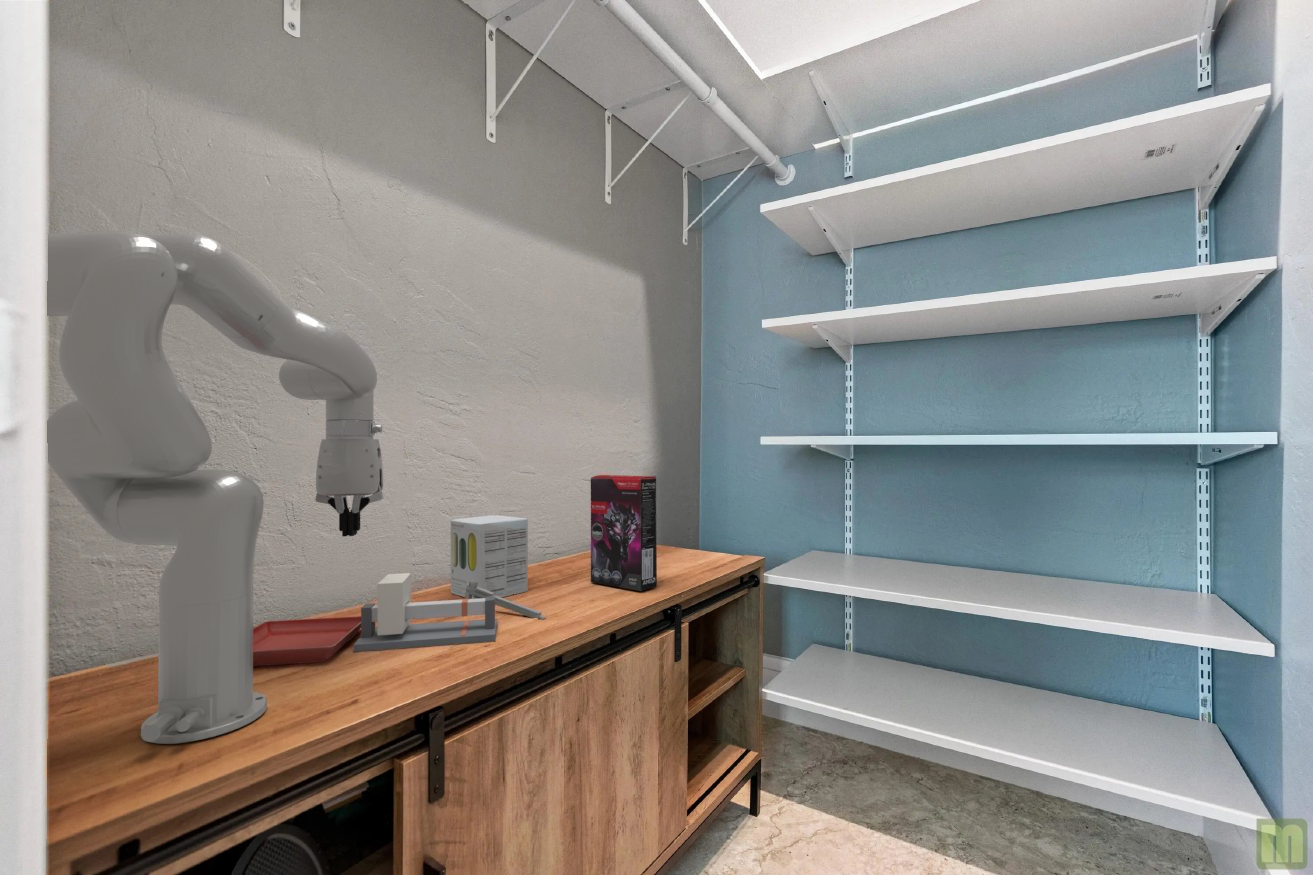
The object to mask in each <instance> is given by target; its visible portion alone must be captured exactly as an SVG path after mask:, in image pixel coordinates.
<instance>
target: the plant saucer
mask: <svg viewBox="0 0 1313 875" xmlns="http://www.w3.org/2000/svg"><path fill="white" fill-rule="evenodd" d="M359 631H361V615H359V616H340V617H339V616H337V617H319V618H302V619H301V618H300V619H284V620H283V619H281V620H268V621H264V622H261V623H260V624H257V626H255V627H254V626H253V667H256V666H257V667H259V666H273V665H274V666H276V665H287V664H289V665H291V664H307V663H322V662H323V663H324V662H325V661H328V660H329V659H330V658H331V657H332V656H334V654H336V653H337V652H338V651H339V650H340V649H341V648H342V647H343V646H345V645H346V644H347V643H348V642H349V641H350V640H352V638H354V637H355V636H356V635H357V633H358V632H359Z"/></svg>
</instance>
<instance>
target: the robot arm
mask: <svg viewBox="0 0 1313 875" xmlns="http://www.w3.org/2000/svg"><path fill="white" fill-rule="evenodd" d="M47 234H48V281H47V316H46V317H67V319H66V322H65V324H64V327H63V331H62V334H61V339H60V344H59V348H58V361H59V368H60V369H61V373H62V376H63V377H64V380H65V381H66V383H67V385H68V387H69V388H70V389H71V391H72V392H73V394H74V396H75V398H76V399H77V400H72V401H71V402H67V403H65V404H63V405H62V406H60V407H59V408H57V409H56V410H55V411H53V412H52V413H51V415H50V416H49V417H48V418H47V421H46V422H47V443H48V461H47V463H48V464H49V465H50V467H51V469H52V471H53V472H54V473H55V474H56V475H57V476H58V478H59V480H61V481H62V483H63V485H65V487H66V488H67V489H68V490H69V491H70V492H71V494H72V495H73V496H74V497H75V498H76V500H77V501H78V502H79V503H80V504H81V505H82V507H83V508H84V509H85V510H86V511H87V513H88V514H89V515H90V516H91V517H92V518H93V519H94V521H95V522H96V523H97V524H98V525H99V526H100V527H101V529H103V530H104V532H106V533H107V534H108V535H110V536H111V537H113V538H114V539H116V540H119V541H121V542H124V543H127V544H132V545H147V546H149V545H150V546H176V550H175V551H174V554H173V555H172V556H171V558H170V560H169V562H168V563H167V564H166V566H165V568H164V570H163V573H162V575H161V578H160V582H159V588H158V675H157V676H158V678H157V679H158V680H157V682H158V683H157V684H158V689H157V690H158V692H157V695H158V698H157V699H158V700H157V707H158V710H157V711H156V712H155V713H153V714H152V715H150V716H149V717H147V718H146V719H145V721H144V722H142V724H141V726H140V737H141V740H143V741H145V742H148V743H152V744H158V745H159V744H161V745H162V744H163V745H171V744H182V743H190V742H197V741H200V740H206V739H211V738H213V737H216V736H217V737H218V736H220V735H225V734H227V733H230V732H232V731H235V730H237V729H241V728H242V727H244V726H246V725H248V724H250V723H252V722H254V721H255V720H256V719H258V718H260V717H261V716H262V715H263V714H264V713H265V712H266V710H267V708H268V698H267V696H266V695H265V694H263V693H260V692H258V691H254V666H253V628H254V605H255V604H254V598H255V597H254V596H255V595H254V594H255V593H254V577H255V576H254V574H255V572H254V570H255V569H254V568H255V557H256V555H255V554H256V553H255V552H256V546H257V541H258V540H257V539H258V536H259V535H258V534H259V531H260V528H261V524H262V523H261V522H262V518H263V514H264V507H265V506H264V496H263V493H262V490H261V489H260V486H259V485H258V484H257V483H256V482H255V481H254V479H252V478H251V477H249V476H247V475H245V474H242V473H241V472H236V471H232V470H227V469H226V470H225V469H211V468H210V469H205V468H203V469H202V467H203V466H204V465H205V464H206V463H207V462H208V461H209V459H210V457H211V454H212V451H213V444H212V443H213V442H212V439H211V435H210V433H209V431H208V428H207V427H206V425H205V424H206V423H205V422H204V421H203V419H202V417H201V416H200V414H199V412H198V411H197V409H196V408H195V405H194V403H192V401H191V399H190V398H189V396H188V394H187V393H186V391H185V389H184V388H183V386H182V384H181V383H180V381H179V380H178V378H177V377H176V375H175V373H174V371H173V369H172V367H171V365H170V364H169V362H168V360H167V357H166V355H165V352H164V348H163V342H162V341H163V339H162V337H163V329H164V325H165V320H166V318H167V315H168V311H169V309H170V307H171V305H181V306H184V307H186V308H188V309H190V310H191V311H192V312H193V313H195V314H196V315H198V317H200V318H202V320H204V321H205V322H206V323H208V324H209V325H210V326H212V327H213V328H215V330H217V331H218V332H219V333H221V334H223V335H224V336H225V337H226V338H227V339H228V340H230V341H231V342H232V343H234V344H235V345H236V346H238V347H239V348H241V349H244V350H246V351H249V352H253V353H254V354H255V353H256V354H260V355H263V356H267V357H271V358H276V359H277V358H278V359H283V360H285V361H284V362H283V363H282V364H281V366H280V368H279V370H278V371H279V372H278V380H279V383H280V385H281V387H282V389H283V390H284V391H285V392H286V393H288V394H289V395H290V396H292V397H293V398H297V399H300V400H303V401H304V400H307V401H316V400H317V401H320V400H321V401H323V400H324V401H325V438H324V439H323V438H322V439H321V441H320V445H319V450H318V456H317V463H316V471H315V491H316V495H315V499H314V500H315V502H316V503H321V504H326V505H329V506H331V507H332V508H333V510H335V512H336V513H337V514H338V517H339V518H338V521H339V522H338V529H339V532H341V533H342V534H341V536H342V537H354V536H356V535H357V534H358V531H361V512H362V511H363V509H365V508H366V507H367V506H368V505H369V504H371V503H375V502H379V501H382V500H383V499H384V495H383V488H384V471H383V470H384V468H383V459H382V457H383V456H382V451H381V449H382V448H381V444H380V441H379V439H377V438H374V437H375V434H378V433H382V432H383V425H382V424H377V423H376V422H375V421H374V391H375V389H376V386H377V382H378V374H377V370H376V367H375V365H374V362H373V361H372V358H370V356H369V355H368V354H367V352H366V351H365V349H363V348H362V347H361V346H360V345H359V344H358V343H357V341H355V340H354V339H353V337H351V336H350V335H348V334H347V333H346V332H344V331H343V330H341V329H339V328H338V327H336V326H334V325H332V324H329V323H327V322H326V321H322V320H321V319H319V318H317V317H314V316H313V315H310V314H308V313H305V312H304V311H301V310H299V309H296V308H293V307H291V306H289V305H287V304H285V303H284V302H283V301H281V300H280V299H279V298H278V297H277V296H276V294H274V292H273V291H272V290H270V289H269V288H268V287H267V286H266V285H265V284H264V283H263V282H261V281H260V279H258V278H257V277H256V276H255V275H254V274H253V273H252V272H251V271H250V269H248V267H246V266H245V265H244V264H243V263H242V262H241V261H240V260H238V259H237V257H235V255H234V254H233V253H232V252H230V250H229V249H228V248H226V247H225V246H224V245H223V244H221V243H220V242H218V241H217V240H215V239H213V238H211V237H209V236H205V235H201V234H196V233H195V234H194V233H168V234H165V233H164V234H149V235H148V234H145V235H143V234H140V233H137V232H136V233H135V232H127V231H119V230H118V231H115V230H98V231H81V232H80V231H79V232H78V231H77V232H61V233H57V232H56V233H47ZM200 468H201V469H200ZM347 496H353V497H352V504H351V505H352V506H351V509H350V508H349V504H348V498H347Z"/></svg>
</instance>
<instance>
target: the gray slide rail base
mask: <svg viewBox="0 0 1313 875" xmlns="http://www.w3.org/2000/svg"><path fill="white" fill-rule="evenodd" d="M360 612H361V613H360V616H361V629H360V636H359V638H358V639H357V640H356V642H354V643H353V653H357V652H358V653H359V652H370V651H386V650H397V649H398V650H399V649H411V648H423V647H425V648H426V647H437V646H451V645H463V644H476V643H477V644H478V643H490V642H491V641H493V642H496V637H497V630H498V618H496V604H495V596H488V597H486V598H479V599H465V598H463V599H450V600H447V599H446V600H433V601H417V602H415V601H413V602H412V601H411V603H406V604H405V620H410V619H411V620H420V619H421V620H422V619H423V620H424V619H437V618H453V617H469V616H471V617H472V616H484V619H470V620H455V621H454V620H453V621H441V622H440V621H439V622H427V623H413V624H411V623H409V624H408V626H407V627H406V629H405V631H404V632H403V634H391V635H377V627H378V626H376V623H378V604H376V603H373V602H372V603H371V602H370V603H365V604H364V605H362V607H361V609H360ZM491 643H492V642H491Z"/></svg>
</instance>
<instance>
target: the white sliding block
mask: <svg viewBox="0 0 1313 875" xmlns="http://www.w3.org/2000/svg"><path fill="white" fill-rule="evenodd" d="M406 603H412V573H411V572H406V573H388V574H386V575H385V577H383V578H382V579H381V580H380V581H379V582H378V583H377V605H378V622H377V626H376V627H377V635H391V634H403V632H404V631H405V629H406V627H407V626H408V625H409V624H411V621H412V619H410V620H405V604H406Z"/></svg>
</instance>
